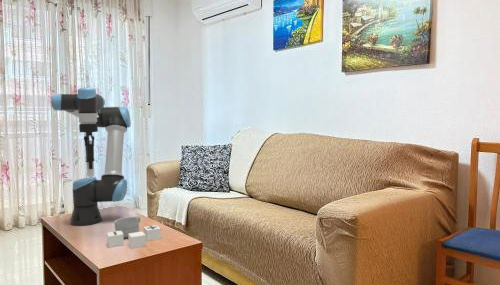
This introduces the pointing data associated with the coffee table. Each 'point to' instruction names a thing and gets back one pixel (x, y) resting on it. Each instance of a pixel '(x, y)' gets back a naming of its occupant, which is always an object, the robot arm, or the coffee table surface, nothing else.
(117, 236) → the marked block bar
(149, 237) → the marked block cross
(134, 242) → the plain block
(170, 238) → the coffee table surface
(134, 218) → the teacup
